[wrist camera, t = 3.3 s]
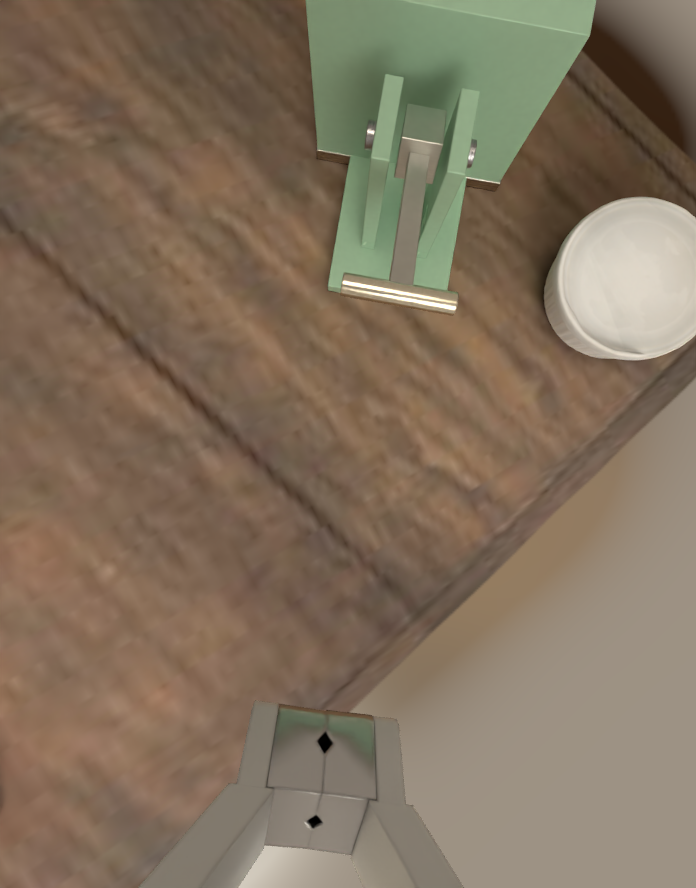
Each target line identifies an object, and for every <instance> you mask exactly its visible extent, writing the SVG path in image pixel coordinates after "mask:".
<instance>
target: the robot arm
mask: <svg viewBox="0 0 696 888" xmlns="http://www.w3.org/2000/svg"><path fill="white" fill-rule="evenodd" d="M278 706H279V709H278ZM277 714H278V715H277ZM276 720H277V721H276ZM403 778H404V777H403V766H402V754H401V743H400V730H399V724H398V721H397V719H394V718H385V717H374V716H372V715H366V714H357V713H349V712H340V711H331V710H326V711H324V710H317V709H311V708H304V707H297V706H291V705H284V704H279V703H271V702H264V701H256V700H255V702H254V705H253V707H252V711H251V716H250V721H249V726H248V731H247V735H246V740H245V745H244V750H243V755H242V759H241V764H240V769H239V774H238V778H237V783H236V784H233V783H229V784H228V785H227V786H226V787H225V788H224V789H223V790H222V792H221V793H220V794H219V795H218V796H217V797H216V799H215V800H214V801H213V802H212V803H211V804H210V805H209V807H208V808H207V809H206V810H205V811H204V812H203V813H202V815H201V816H200V817H199V818H198V819H197V820H196V822H195V823H194V824H193V825H192V826H191V827H190V828H189V830H188V831H187V832H186V833H185V834H184V835H183V837H182V838H181V839H180V840H179V841H178V842H177V843H176V845H175V846H174V847H173V848H172V849H171V850H170V851H169V853H168V854H167V855H166V856H165V857H164V858H163V860H162V861H161V862H160V863H159V864H158V865H157V866H156V868H155V869H154V870H153V871H152V872H151V873H150V875H149V876H148V877H147V878H146V879H145V880H144V881H143V883H142V884H141V885H140V886H139V887H138V888H238V887H239V886H240V884H241V882H242V881H243V880H244V878H245V876H246V875H247V873H248V872H249V870H250V869H251V867H252V866H253V864H254V863H255V861H256V860H257V858H258V856H259V855H260V854H261V852H262V851H263V849H264V845H267V846H279V847H292V848H303V849H312V850H319V851H326V852H333V853H340V854H346V855H352V856H351V859H352V862H353V864H354V866H355V869H356V871H357V874H358V876H359V879H360V881H361V883H362V886H363V888H464V887H463V885H462V884H461V882H460V880H459V879H458V877H457V876H456V874H455V872H454V871H453V869H452V867H451V866H450V864H449V863H448V861H447V859H446V858H445V856H444V855H443V853H442V851H441V850H440V848H439V847H438V845H437V843H436V842H435V840H434V838H433V837H432V835H431V834H430V832H429V830H428V829H427V827H426V825H425V824H424V822H423V821H422V819H421V817H420V816H419V814H418V813H417V811H416V809H415V808H414V806H412V805H407V804H406V801H405V789H404V779H403Z"/></svg>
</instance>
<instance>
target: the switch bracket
mask: <svg viewBox="0 0 696 888" xmlns="http://www.w3.org/2000/svg"><path fill="white" fill-rule="evenodd" d="M403 81H404V78H403V77H400V76H395V75H389V74H385V77H384V83H383V88H382V94H381V100H380V106H379V111H378V117H377V121H372V120H369V121H368V125H367V131H366V137H365V146H364V149H365V150H370V151H372V152H371V158H370V159H369V158H363V157H358V156H352V155H351V156H350V160H349V166H348V171H347V177H346V183H345V189H344V194H343V200H342V206H341V212H340V217H339V223H338V229H337V235H336V241H335V246H334V252H333V258H332V264H331V269H330V275H329V281H328V290H329V291H335V292H341V284H342V279H343V274H344V272H347V273H353V274H359V275H364V276H370V277H375V278H381V279H386V280H389V275H390V269H391V262H392V256H393V249H394V243H395V236H396V230H397V223H398V217H399V210H400V204H401V197H402V190H403V184H404V179H400V178H395V177H394V174H395V168H396V163H389V161H390V156H391V150H392V144H393V138H394V133H395V127H396V121H397V115H398V110H399V104H400V98H401V92H402V87H403ZM479 95H480V92H479V91H475V90H470V89H464V88H462V89H461V91H460V94H459V97H458V100H457V103H456V105H455V108H454V111H453V114H452V117H451V120H450V123H449V126H448V129H447V132H446V135H445V138H444V142H443V147H442V151H441V155H440V158H439V162H438V166H437V169H436V173H435V177H434V180H433V184H428V183H426V188H425V195H424V203H423V211H422V219H421V227H420V235H419V242H418V250H417V258H416V266H415V274H414V282H413V284H414V285H420V286H426V287H431V288H437V289H442V290H447V288H448V282H449V276H450V271H451V265H452V259H453V254H454V248H455V242H456V237H457V231H458V225H459V219H460V214H461V208H462V202H463V197H464V191H465V185H466V180H467V177H466V176H465V175H466V169H467V168H470V167H471V166H472V163H473V160H474V157H475V153H476V148H477V140H475V139H472V135H473V129H474V124H475V118H476V112H477V107H478V101H479Z"/></svg>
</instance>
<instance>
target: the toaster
mask: <svg viewBox="0 0 696 888" xmlns="http://www.w3.org/2000/svg"><path fill="white" fill-rule="evenodd" d="M595 3H596V0H306V10H307V22H308V35H309V47H310V59H311V72H312V84H313V96H314V109H315V121H316V134H317V148H316V153H317V159H321V160H327V161H332V162H338V163H343V164H349V160H350V156H351V155H352V156H358V157H363V158H369V159H370V158H371V152H372V151H370V150H365V149H364V146H365V137H366V131H367V125H368V121H369V120H372V121H377V117H378V111H379V106H380V100H381V94H382V88H383V83H384V77H385V74H389V75H395V76H400V77H403V78H404V81H403V87H402V92H401V98H400V104H399V110H398V115H397V121H396V127H395V133H394V138H393V144H392V150H391V156H390V161H389V163H396V162H397V156H398V150H399V144H400V139H401V133H402V128H403V123H404V117H405V112H406V107H407V104H414V105H419V106H424V107H430V108H435V109H441V110H446V111H447V115H446V124H445V133H444V138H445V135H446V132H447V129H448V126H449V123H450V120H451V117H452V114H453V111H454V108H455V105H456V103H457V100H458V97H459V94H460V91H461V89H462V88H464V89H470V90H475V91H479V92H480V95H479V101H478V107H477V112H476V118H475V124H474V129H473V135H472V139H475V140H477V148H476V153H475V157H474V160H473V163H472V166H471V167H470V168H467V169H466V175H465V176H466V177H467V180H466V185H465V186H469V187H475V188H480V189H486V190H491V191H496V190H497V188H498V187H499V185H500V183H501V179H502V177H503V175H504V174H505V172H506V171H507V169H508V167H509V166H510V164H511V163H512V161H513V159H514V158H515V156H516V154H517V153H518V151H519V150H520V148H521V146H522V145H523V143H524V141H525V140H526V138H527V137H528V135H529V133H530V132H531V130H532V128H533V127H534V125H535V124H536V122H537V120H538V119H539V117H540V116H541V114H542V112H543V111H544V109H545V107H546V106H547V104H548V103H549V101H550V99H551V98H552V96H553V94H554V93H555V91H556V90H557V88H558V86H559V85H560V83H561V81H562V80H563V78H564V77H565V75H566V73H567V72H568V70H569V69H570V67H571V65H572V64H573V62H574V60H575V59H576V57H577V56H578V54H579V52H580V51H581V49H582V47H583V46H584V44H585V43H586V41H587V39H588V38H589V36H590V32H591V26H592V20H593V14H594V9H595Z"/></svg>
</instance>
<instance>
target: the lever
mask: <svg viewBox="0 0 696 888" xmlns="http://www.w3.org/2000/svg"><path fill="white" fill-rule="evenodd" d="M446 115H447V111H446V110H441V109H435V108H430V107H424V106H419V105H414V104H407V107H406V112H405V117H404V123H403V128H402V133H401V139H400V144H399V150H398V156H397V162H396V168H395V174H394V177H395V178H400V179H404V184H403V190H402V197H401V204H400V210H399V217H398V223H397V230H396V236H395V243H394V249H393V256H392V262H391V269H390V275H389V280H386V279H381V278H375V277H370V276H364V275H359V274H353V273H347V272H344V274H343V279H342V284H341V292H340V295H341V296H344V297H350V298H355V299H361V300H366V301H372V302H378V303H383V304H389V305H394V306H400V307H406V308H411V309H417V310H422V311H428V312H434V313H439V314H445V315H450V316H453V315H454V313H455V311H456V308H457V304H458V298H459V295H458V292H453V291H448V290H442V289H437V288H431V287H426V286H420V285H414V284H413V282H414V274H415V266H416V258H417V250H418V242H419V235H420V227H421V219H422V211H423V203H424V195H425V188H426V183H428V184H433V180H434V177H435V173H436V169H437V166H438V162H439V158H440V155H441V151H442V147H443V142H444V133H445V124H446Z"/></svg>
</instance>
